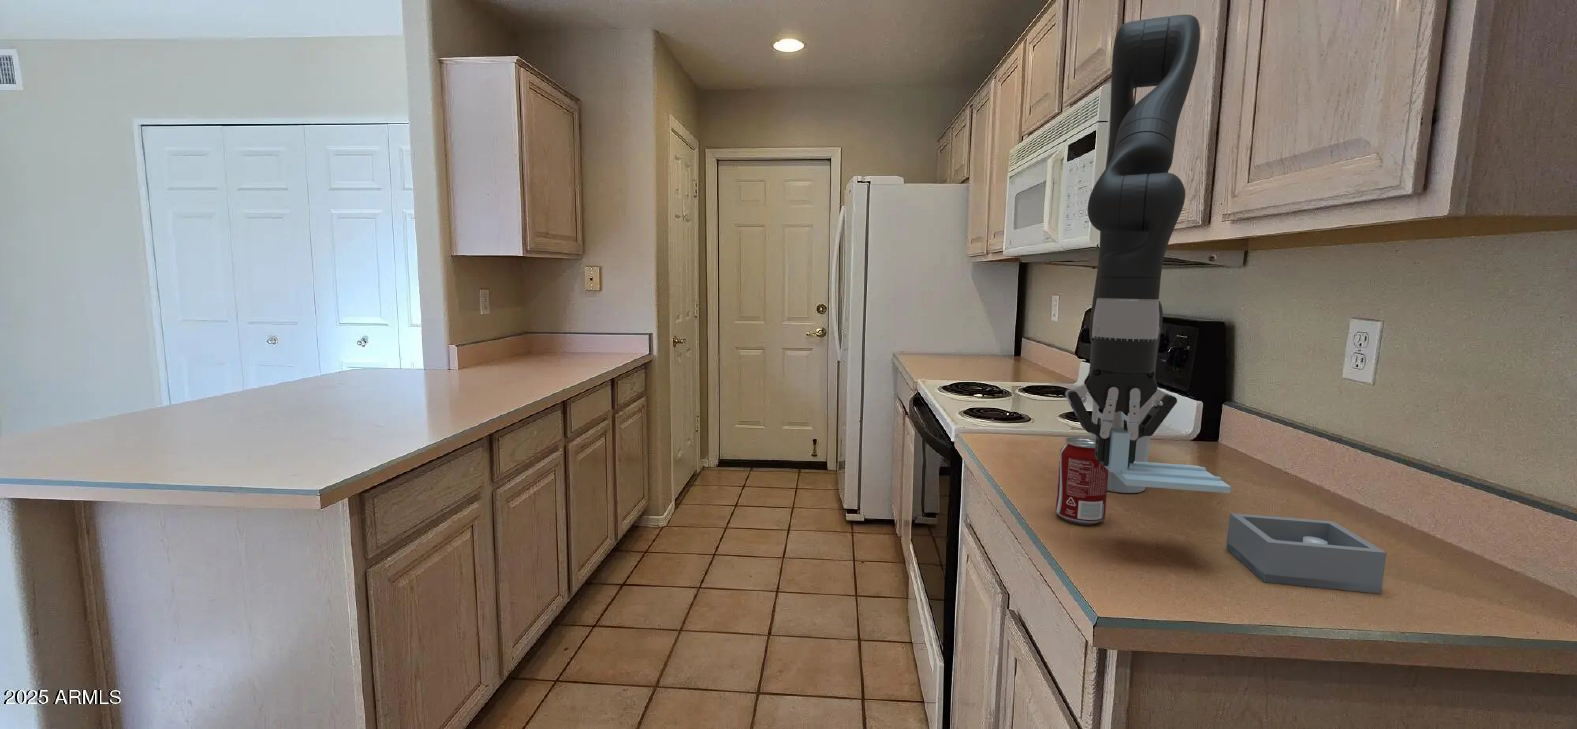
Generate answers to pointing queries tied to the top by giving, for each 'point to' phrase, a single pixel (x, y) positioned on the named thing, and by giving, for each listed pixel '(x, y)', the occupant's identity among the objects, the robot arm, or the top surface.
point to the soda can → (1081, 483)
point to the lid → (1158, 470)
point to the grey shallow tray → (1305, 553)
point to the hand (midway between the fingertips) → (1113, 464)
